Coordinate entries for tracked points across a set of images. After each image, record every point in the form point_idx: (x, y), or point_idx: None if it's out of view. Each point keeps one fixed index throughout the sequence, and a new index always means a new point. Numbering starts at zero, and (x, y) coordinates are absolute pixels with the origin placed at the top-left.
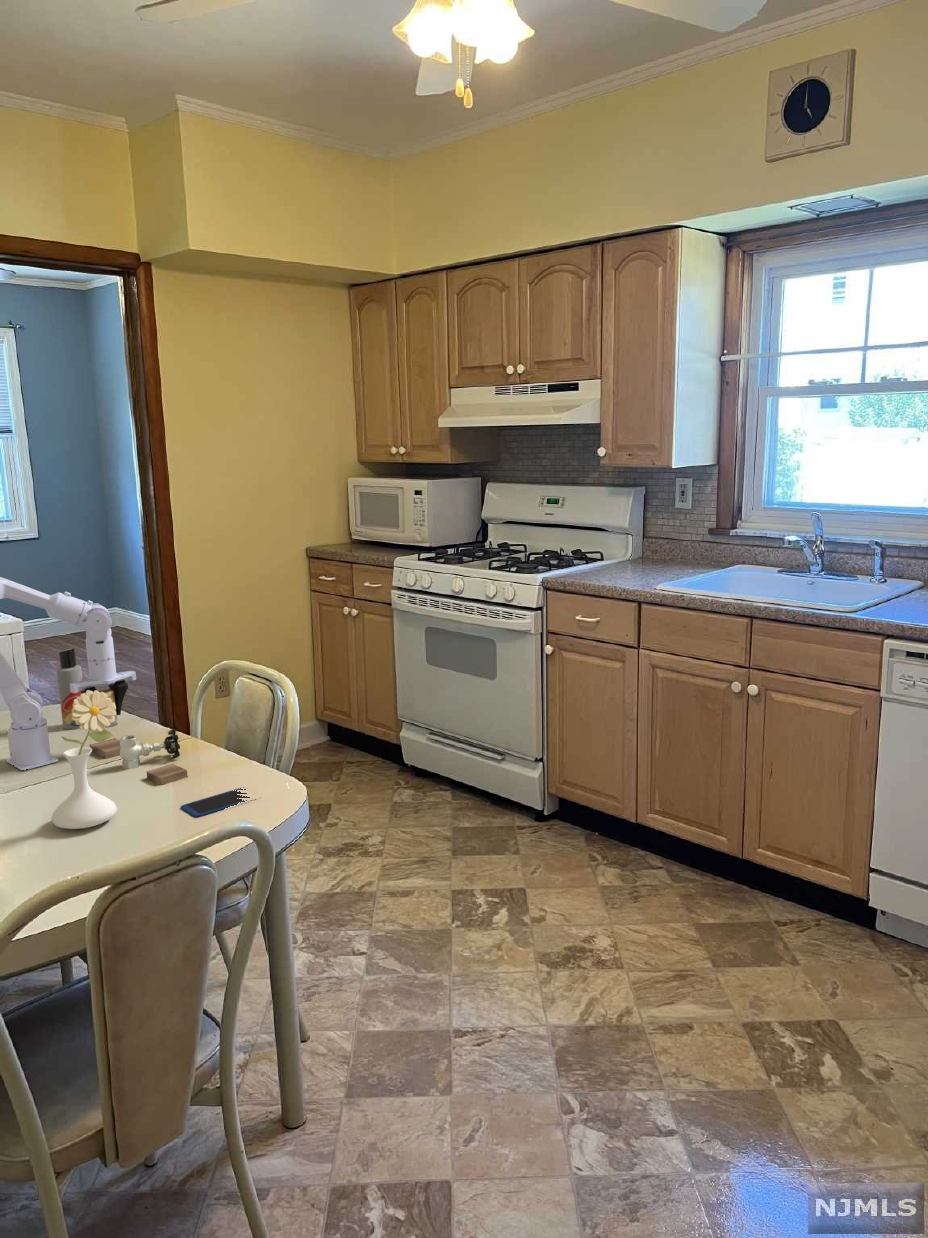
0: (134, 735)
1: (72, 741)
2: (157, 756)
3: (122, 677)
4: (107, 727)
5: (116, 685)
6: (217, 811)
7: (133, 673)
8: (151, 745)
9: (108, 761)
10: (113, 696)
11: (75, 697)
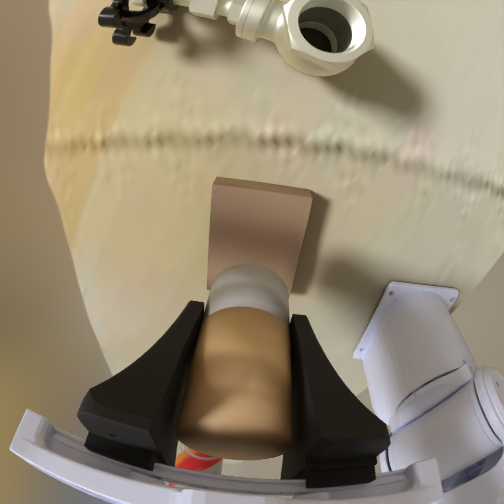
0: (289, 25)
1: None
2: (191, 56)
3: (92, 477)
4: (273, 272)
5: (156, 448)
6: None
7: (22, 449)
8: (227, 3)
9: (324, 159)
10: (203, 389)
11: (200, 456)
